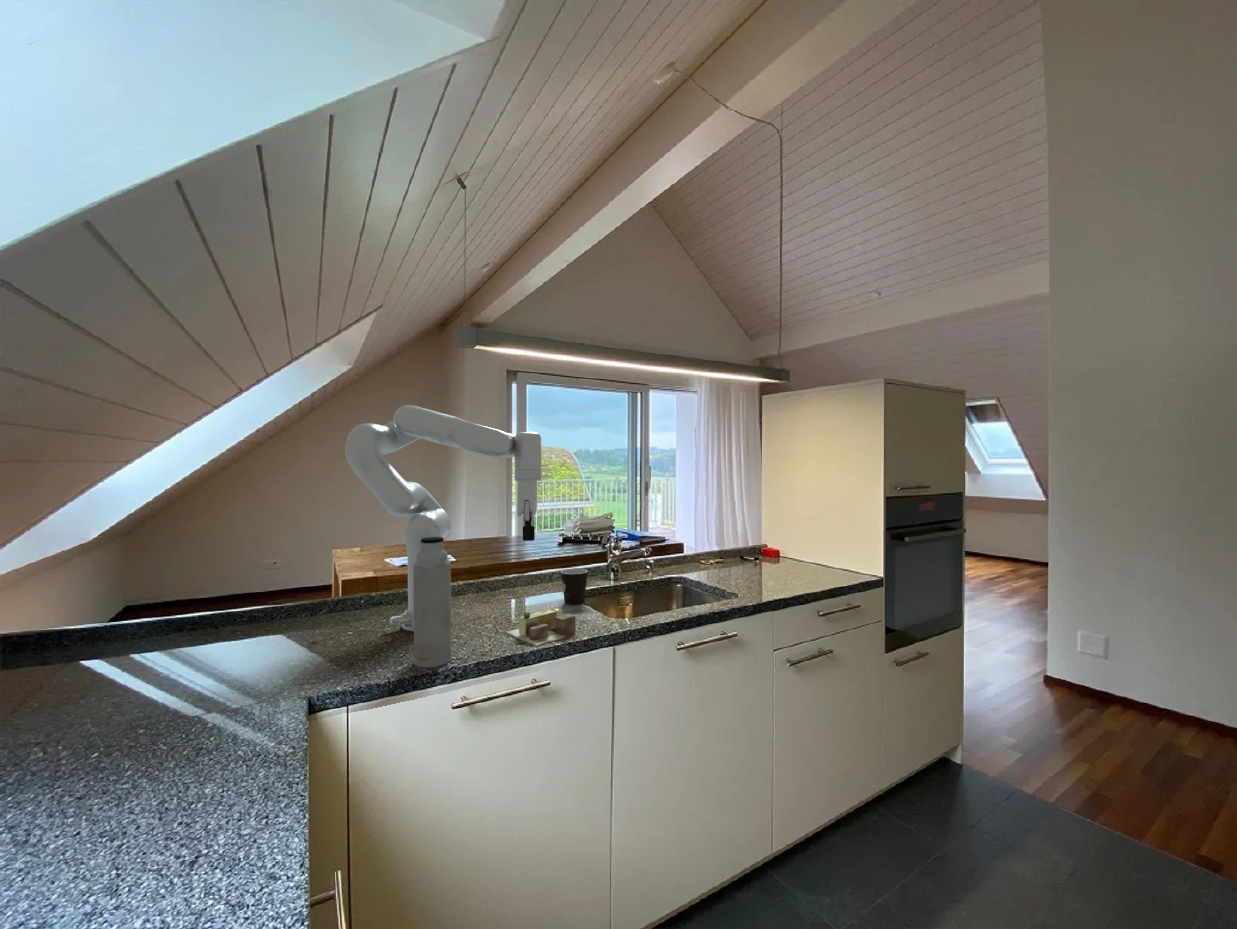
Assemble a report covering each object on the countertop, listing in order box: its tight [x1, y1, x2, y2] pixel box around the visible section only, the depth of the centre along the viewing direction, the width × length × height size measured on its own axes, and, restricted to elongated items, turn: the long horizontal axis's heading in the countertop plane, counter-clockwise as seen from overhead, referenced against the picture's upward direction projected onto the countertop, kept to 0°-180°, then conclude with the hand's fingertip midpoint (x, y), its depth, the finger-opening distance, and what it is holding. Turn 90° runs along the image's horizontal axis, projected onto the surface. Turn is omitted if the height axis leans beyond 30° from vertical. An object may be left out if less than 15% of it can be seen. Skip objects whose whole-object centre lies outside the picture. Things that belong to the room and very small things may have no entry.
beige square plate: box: [505, 628, 567, 647], centre depth 134 cm, size 14×14×1 cm
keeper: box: [529, 624, 549, 641], centre depth 129 cm, size 5×2×3 cm, turn 134°
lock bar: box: [518, 607, 563, 637], centre depth 135 cm, size 13×3×5 cm, turn 135°
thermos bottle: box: [413, 537, 452, 669], centre depth 115 cm, size 8×8×28 cm
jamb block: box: [554, 613, 576, 637], centre depth 134 cm, size 4×3×4 cm
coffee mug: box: [560, 568, 588, 606], centre depth 166 cm, size 12×9×10 cm
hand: (528, 540), depth 144 cm, fingers closed
